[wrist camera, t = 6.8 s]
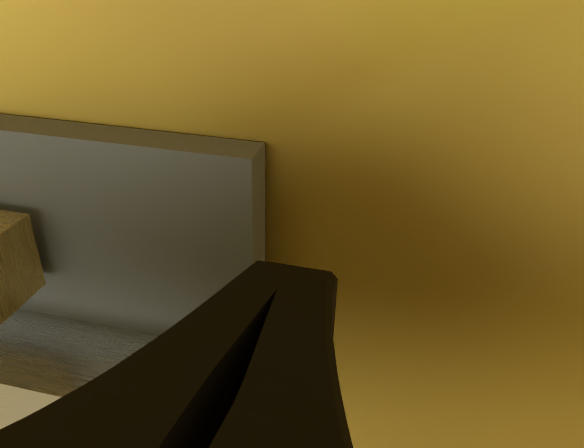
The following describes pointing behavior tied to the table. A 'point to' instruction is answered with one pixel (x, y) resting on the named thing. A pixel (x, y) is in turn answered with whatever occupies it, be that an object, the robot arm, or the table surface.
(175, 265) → the mat
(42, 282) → the tab
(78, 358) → the base
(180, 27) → the table surface
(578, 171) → the table surface
